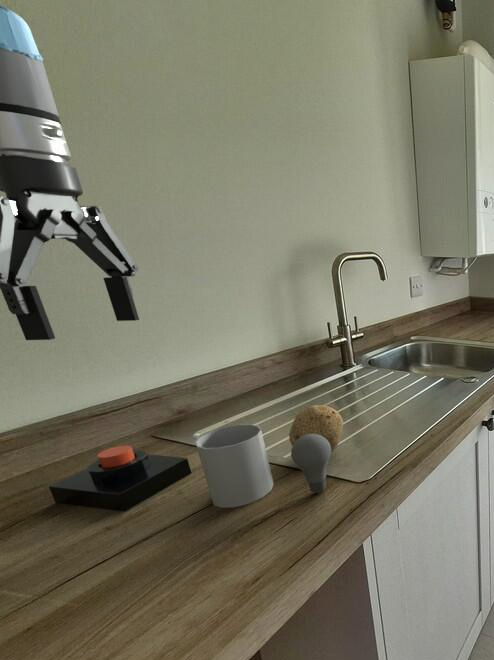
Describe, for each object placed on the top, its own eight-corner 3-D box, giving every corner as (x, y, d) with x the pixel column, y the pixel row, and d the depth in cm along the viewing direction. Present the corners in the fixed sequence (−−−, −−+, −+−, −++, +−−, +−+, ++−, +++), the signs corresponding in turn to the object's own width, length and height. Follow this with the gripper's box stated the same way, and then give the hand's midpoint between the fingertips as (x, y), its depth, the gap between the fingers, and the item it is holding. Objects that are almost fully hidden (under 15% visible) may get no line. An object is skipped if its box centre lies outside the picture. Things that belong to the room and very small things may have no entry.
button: (94, 468, 64) (90, 456, 63) (121, 455, 68) (118, 444, 67) (115, 470, 63) (111, 458, 63) (141, 457, 67) (138, 446, 66)
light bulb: (344, 484, 67) (335, 429, 64) (324, 504, 62) (313, 445, 59) (314, 481, 68) (303, 426, 65) (291, 500, 63) (279, 442, 60)
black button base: (55, 503, 63) (43, 474, 61) (130, 466, 73) (121, 441, 72) (124, 511, 61) (114, 482, 59) (191, 473, 71) (184, 447, 69)
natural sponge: (292, 472, 71) (281, 419, 68) (295, 449, 79) (286, 401, 76) (348, 461, 75) (340, 410, 71) (346, 441, 82) (338, 394, 79)
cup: (199, 500, 63) (182, 442, 60) (249, 474, 71) (236, 421, 67) (237, 512, 60) (220, 452, 57) (285, 484, 68) (273, 429, 64)
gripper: (-61, 134, 39) (26, 349, 46) (141, 175, 63) (178, 314, 69) (-149, 133, 39) (-47, 351, 45) (88, 175, 62) (131, 314, 69)
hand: (89, 329), depth 57 cm, fingers open, 13 cm apart
